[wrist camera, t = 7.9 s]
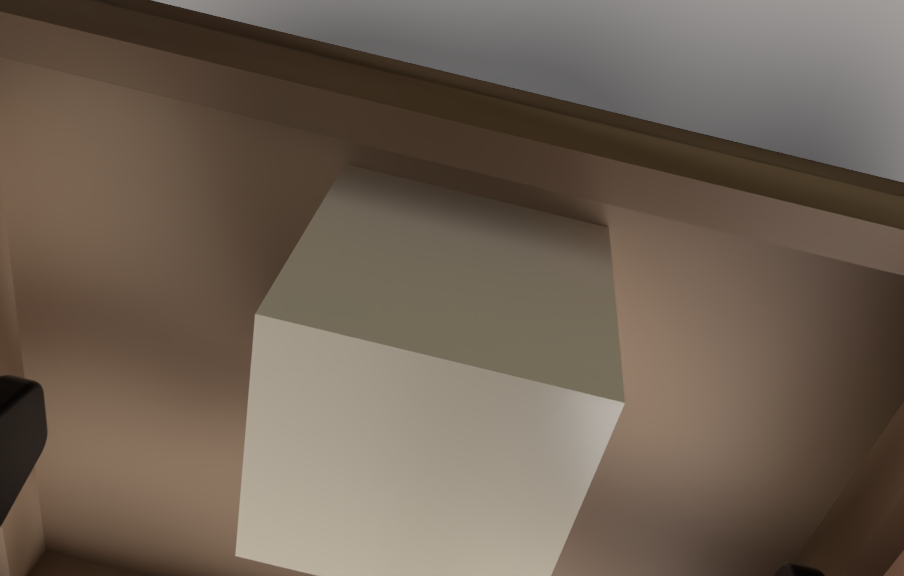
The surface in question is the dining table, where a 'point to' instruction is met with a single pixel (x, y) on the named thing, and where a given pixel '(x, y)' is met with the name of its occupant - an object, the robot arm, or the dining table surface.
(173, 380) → the parts tray
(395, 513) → the beige cube
